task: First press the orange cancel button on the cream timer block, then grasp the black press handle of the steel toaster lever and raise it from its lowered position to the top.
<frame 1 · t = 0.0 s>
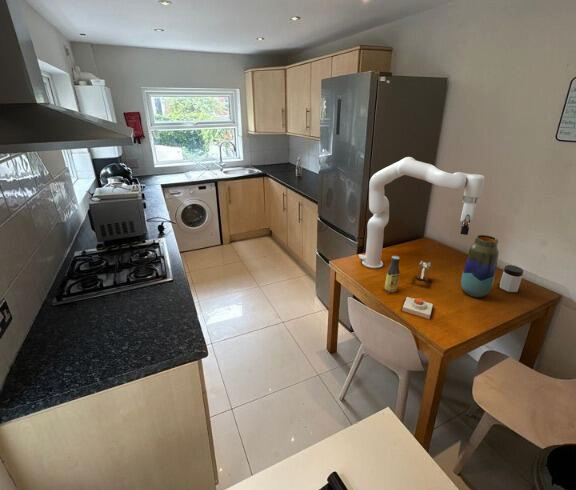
hand: (464, 231, 156), 31 cm above the table, tool pointing down, fingers open, 9 cm apart
timer block: (417, 309, 145), on the table
cancel button: (418, 301, 143), point 4 cm above the table, slide at 0.1 cm
vase: (473, 293, 158), on the table
jar: (508, 288, 163), on the table
toaster lever: (423, 272, 163), point 8 cm above the table, hinge at -30.0°
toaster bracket: (422, 281, 169), on the table
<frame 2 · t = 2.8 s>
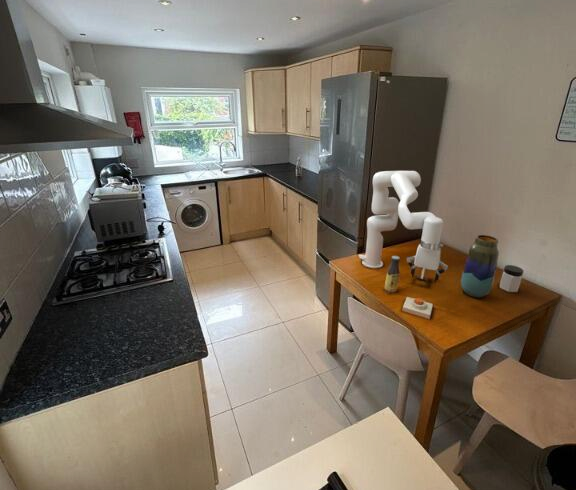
hand: (424, 278, 139), 17 cm above the table, tool pointing down, fingers open, 9 cm apart
nothing on the table moved.
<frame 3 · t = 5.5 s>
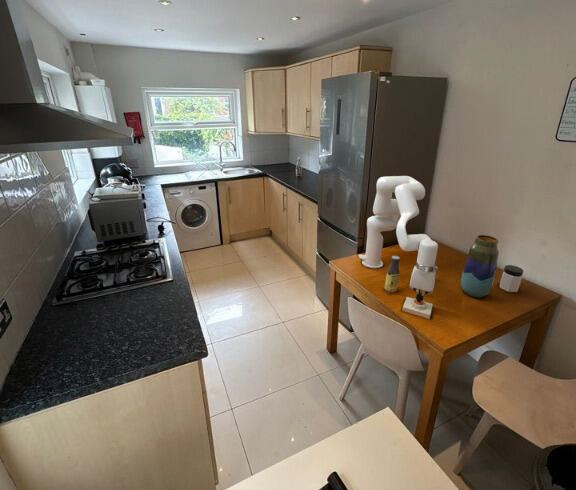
hand: (419, 300, 143), 5 cm above the table, tool pointing down, fingers closed
cancel button: (418, 302, 144), point 4 cm above the table, slide at -0.4 cm, touching gripper
everything else where it was.
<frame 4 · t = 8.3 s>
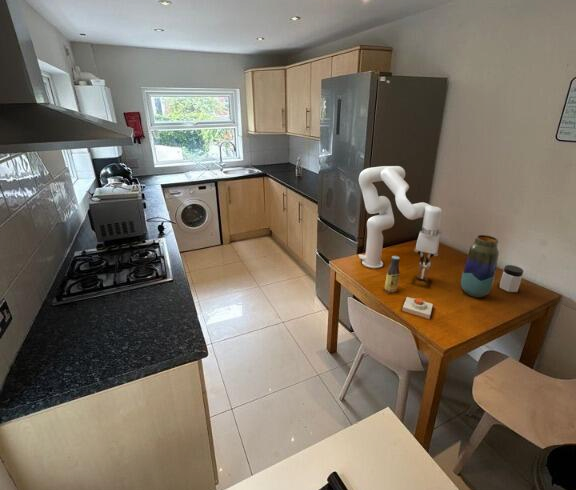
hand: (424, 263, 157), 15 cm above the table, tool pointing down, fingers closed
cancel button: (418, 301, 143), point 4 cm above the table, slide at 0.1 cm
everything else where it was.
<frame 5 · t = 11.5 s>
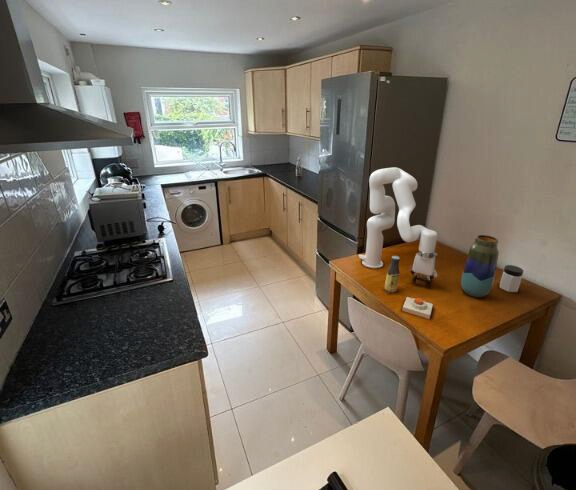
hand: (420, 283, 161), 3 cm above the table, tool pointing down, fingers closed on toaster lever, 5 cm apart
toaster lever: (423, 272, 163), point 8 cm above the table, hinge at -30.0°, touching gripper
everything else where it was.
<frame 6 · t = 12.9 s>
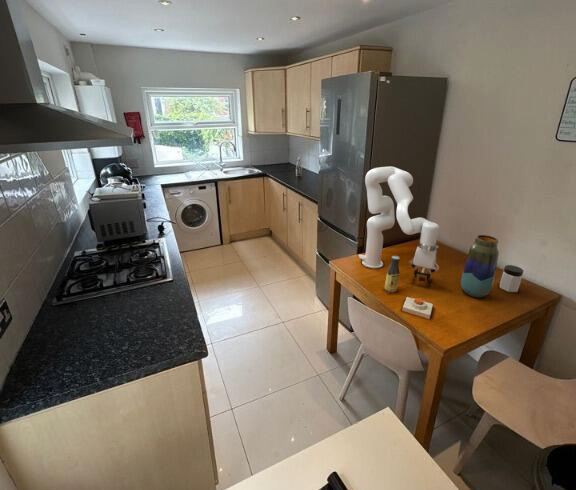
hand: (421, 277, 159), 7 cm above the table, tool pointing down, fingers closed on toaster lever, 5 cm apart
toaster lever: (423, 269, 162), point 10 cm above the table, hinge at -2.4°, touching gripper
everything else where it was.
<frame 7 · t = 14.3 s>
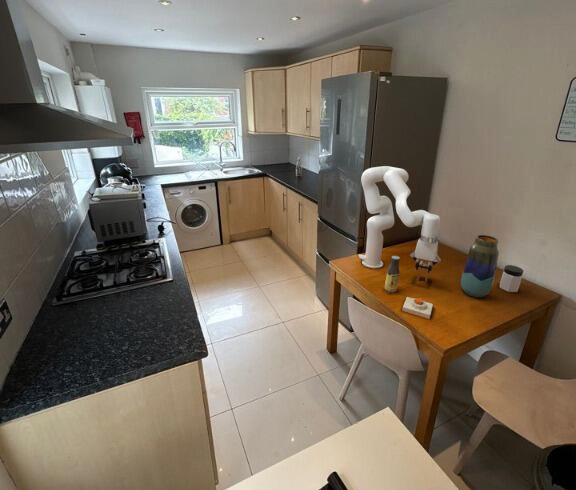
hand: (422, 270, 158), 11 cm above the table, tool pointing down, fingers closed on toaster lever, 5 cm apart
toaster lever: (424, 266, 161), point 11 cm above the table, hinge at 21.4°, touching gripper
everything else where it was.
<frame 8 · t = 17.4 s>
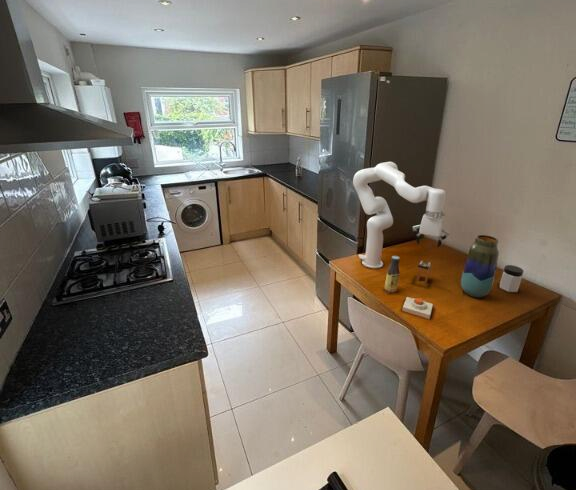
hand: (428, 244, 157), 24 cm above the table, tool pointing down, fingers open, 9 cm apart
toaster lever: (424, 266, 161), point 11 cm above the table, hinge at 21.0°
everything else where it was.
at the end: cancel button pushed in 1.1 cm at the most during the clip, back to where it started at the end; cancel button slide at 0.1 cm; toaster lever at +21° (first picture: -30°) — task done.
